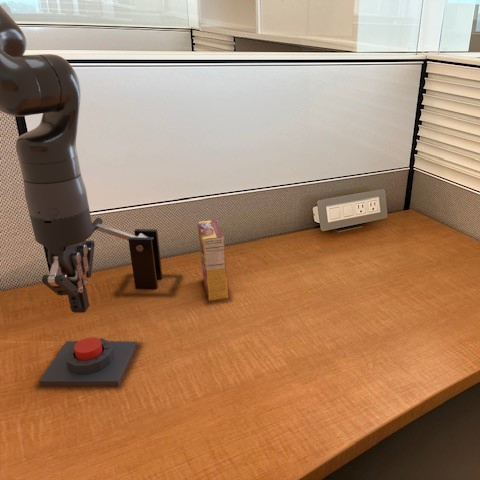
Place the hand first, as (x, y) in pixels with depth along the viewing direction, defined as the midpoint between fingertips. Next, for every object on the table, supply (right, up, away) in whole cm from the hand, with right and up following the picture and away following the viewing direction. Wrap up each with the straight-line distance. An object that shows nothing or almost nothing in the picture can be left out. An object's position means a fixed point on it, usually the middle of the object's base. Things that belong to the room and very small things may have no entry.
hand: (80, 310), depth 75 cm
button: (0, -8, +4) cm, 9 cm away
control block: (0, -10, +5) cm, 12 cm away
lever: (-4, +11, +23) cm, 26 cm away
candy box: (+15, -1, +27) cm, 31 cm away
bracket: (+1, +1, +28) cm, 28 cm away
